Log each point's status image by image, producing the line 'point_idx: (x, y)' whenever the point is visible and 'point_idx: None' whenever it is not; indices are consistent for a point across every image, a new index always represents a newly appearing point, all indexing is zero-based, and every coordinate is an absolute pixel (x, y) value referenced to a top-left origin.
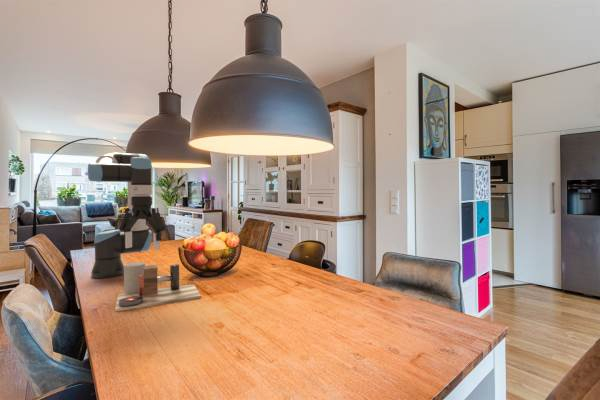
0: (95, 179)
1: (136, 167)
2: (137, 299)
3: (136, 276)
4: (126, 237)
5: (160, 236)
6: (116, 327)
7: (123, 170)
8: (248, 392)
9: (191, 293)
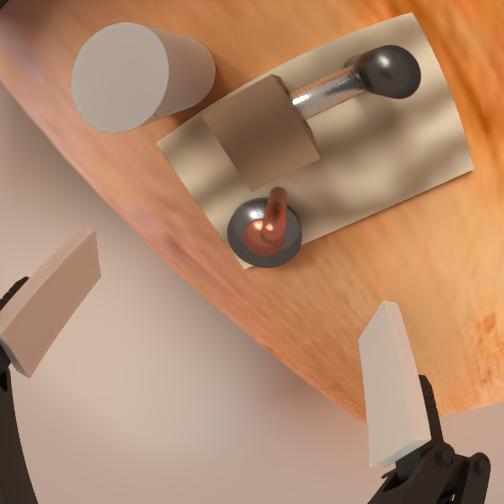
0: None
1: None
2: (286, 236)
3: (176, 107)
4: (52, 339)
5: (430, 415)
6: (307, 337)
7: None
8: (472, 408)
9: (442, 139)
